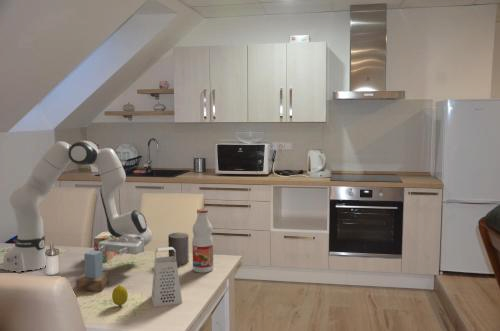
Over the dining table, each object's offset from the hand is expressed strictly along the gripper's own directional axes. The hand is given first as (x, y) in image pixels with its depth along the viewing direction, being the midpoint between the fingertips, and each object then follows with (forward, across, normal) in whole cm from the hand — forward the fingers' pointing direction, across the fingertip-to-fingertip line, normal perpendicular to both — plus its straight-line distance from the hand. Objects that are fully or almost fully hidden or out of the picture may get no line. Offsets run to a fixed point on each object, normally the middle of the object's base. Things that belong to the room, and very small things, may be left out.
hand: (109, 251), depth 202 cm
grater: (+13, +35, +12) cm, 40 cm away
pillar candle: (-30, +17, +12) cm, 37 cm away
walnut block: (+11, 0, +12) cm, 17 cm away
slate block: (+11, 0, +7) cm, 13 cm away
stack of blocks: (-28, -22, +12) cm, 38 cm away
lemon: (+24, +22, +12) cm, 35 cm away
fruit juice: (-24, +33, +12) cm, 43 cm away
